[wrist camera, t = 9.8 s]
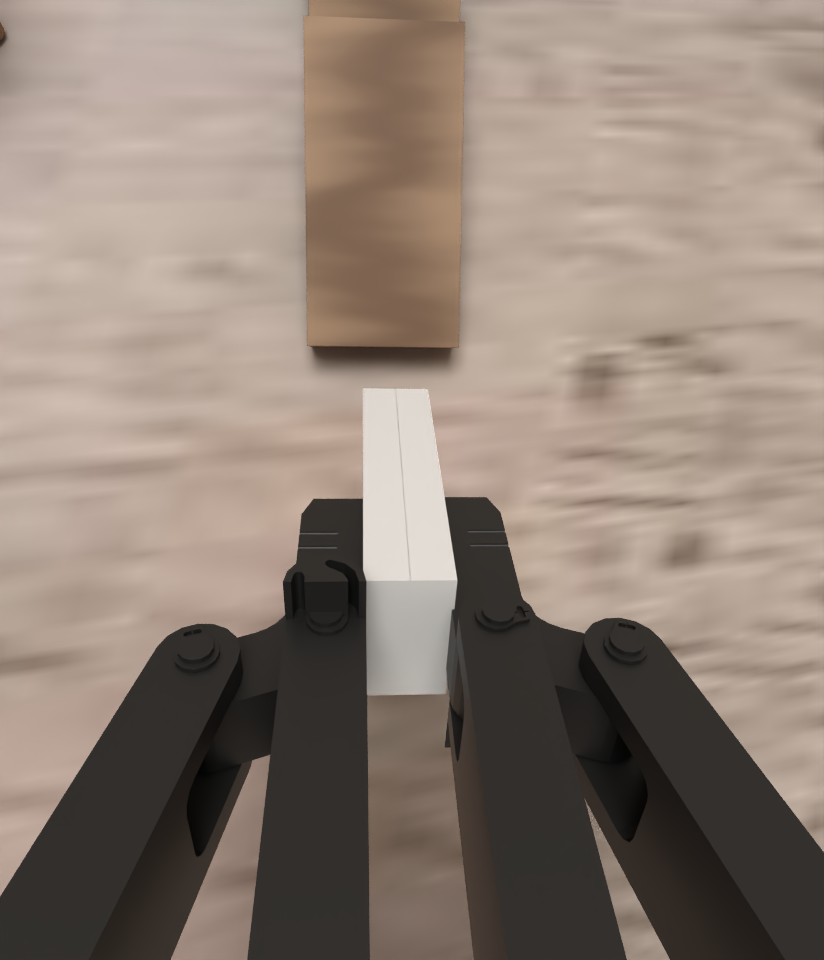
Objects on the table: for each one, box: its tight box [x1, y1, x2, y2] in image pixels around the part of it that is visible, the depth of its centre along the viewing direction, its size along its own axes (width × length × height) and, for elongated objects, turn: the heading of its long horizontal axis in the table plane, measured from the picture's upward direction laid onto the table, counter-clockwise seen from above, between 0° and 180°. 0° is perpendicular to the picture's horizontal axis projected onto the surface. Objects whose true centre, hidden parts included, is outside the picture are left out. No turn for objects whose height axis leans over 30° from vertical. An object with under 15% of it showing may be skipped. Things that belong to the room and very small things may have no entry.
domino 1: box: [304, 16, 465, 348], centre depth 25 cm, size 5×2×10 cm
